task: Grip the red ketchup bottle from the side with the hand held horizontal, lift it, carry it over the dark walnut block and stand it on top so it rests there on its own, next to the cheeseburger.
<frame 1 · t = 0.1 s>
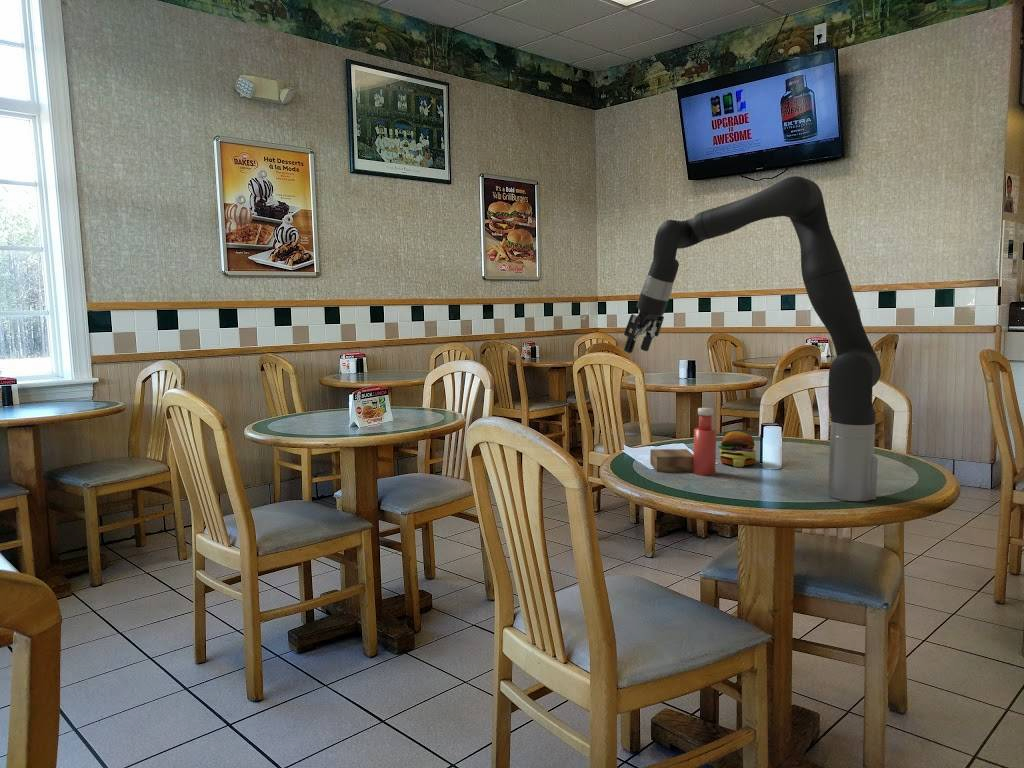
hand: (636, 351, 205), 31 cm above the table, fingers open, 8 cm apart
cheeseburger: (737, 464, 209), on the table
walnut block: (672, 467, 204), on the table
ketchup bottle: (704, 473, 197), on the table
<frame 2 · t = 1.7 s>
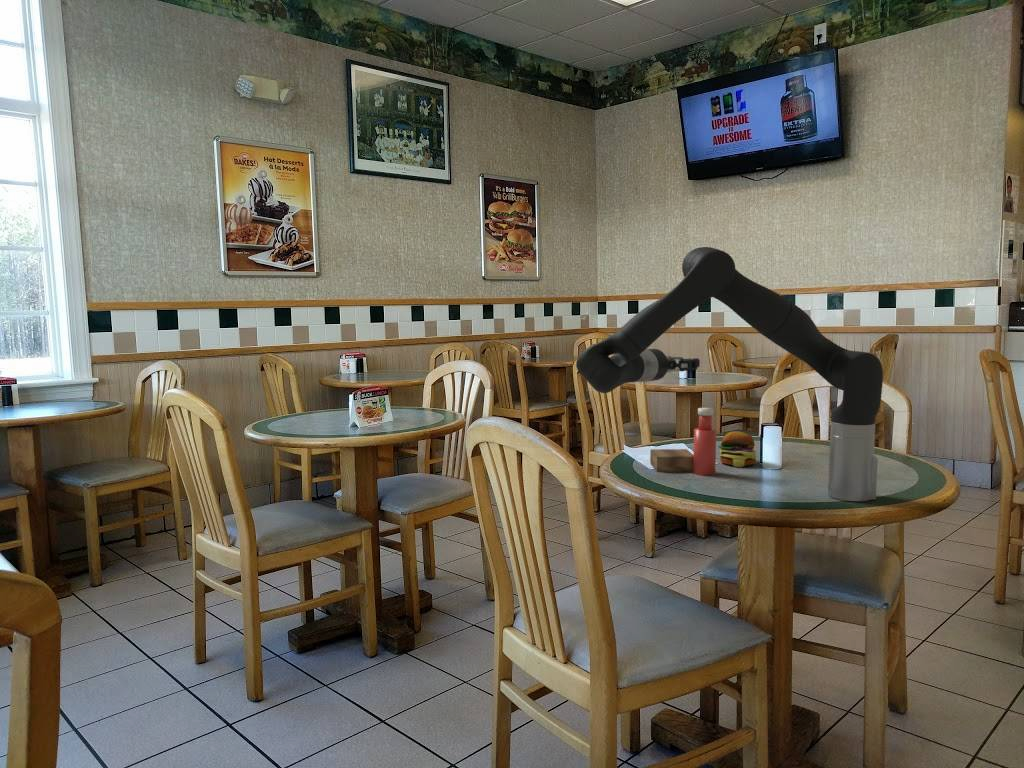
hand: (682, 361, 187), 30 cm above the table, fingers open, 8 cm apart
nothing on the table moved.
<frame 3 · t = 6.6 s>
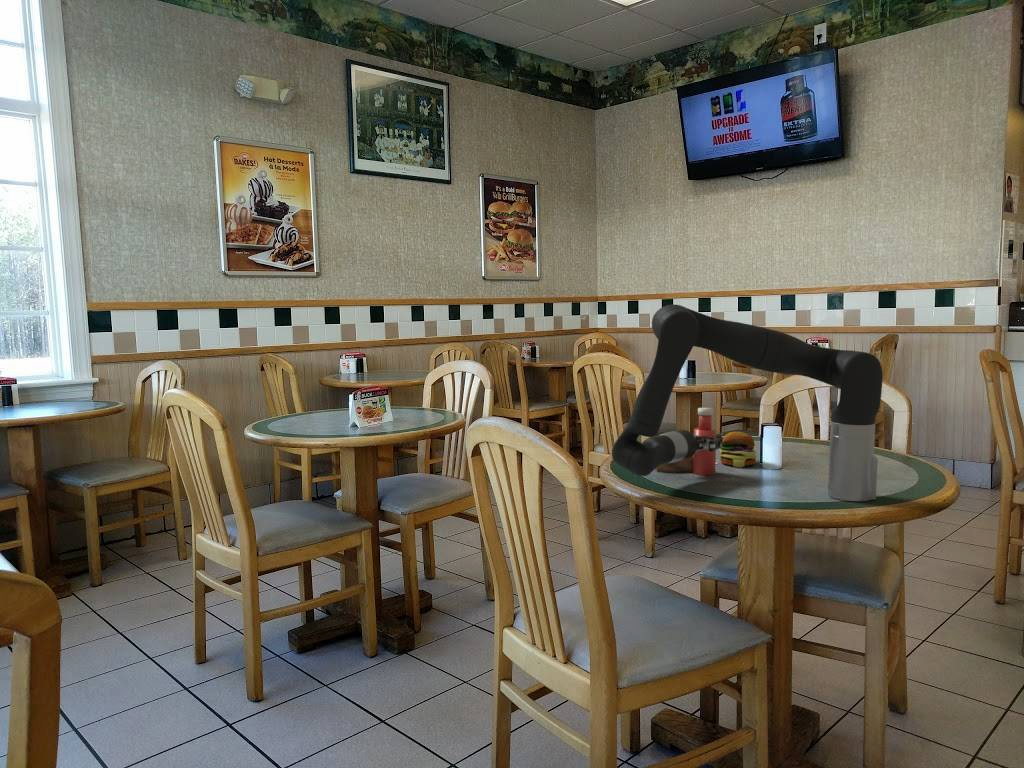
hand: (709, 437, 198), 9 cm above the table, fingers closed on ketchup bottle, 5 cm apart
ketchup bottle: (704, 473, 197), on the table, touching gripper
everything else where it was.
when the fingers open (14 cm above the table, at t = 10.3 s): ketchup bottle drops 1 cm, resting on walnut block.
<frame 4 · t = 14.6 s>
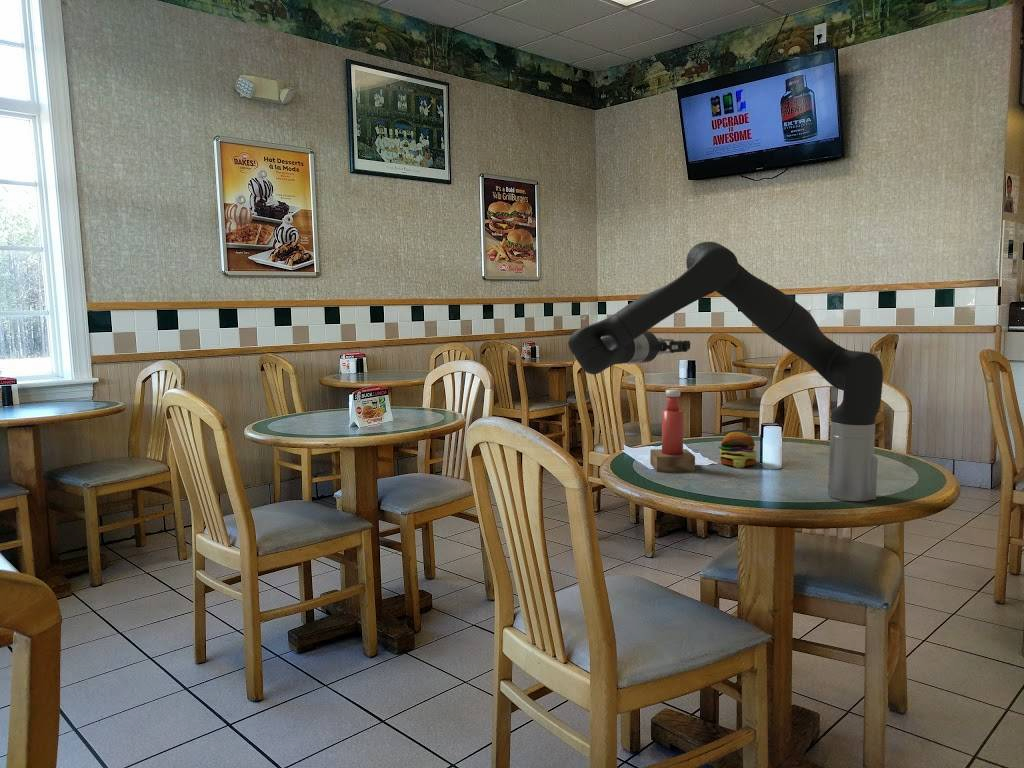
hand: (673, 344, 188), 34 cm above the table, fingers open, 8 cm apart
ketchup bottle: (672, 452, 204), point 4 cm above the table, touching walnut block
everything else where it was.
at the end: ketchup bottle inside the target area on the walnut block (0.2 cm from its centre), point 4.0 cm above the walnut block's base; ketchup bottle tilted 1°; the gripper is holding nothing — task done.
